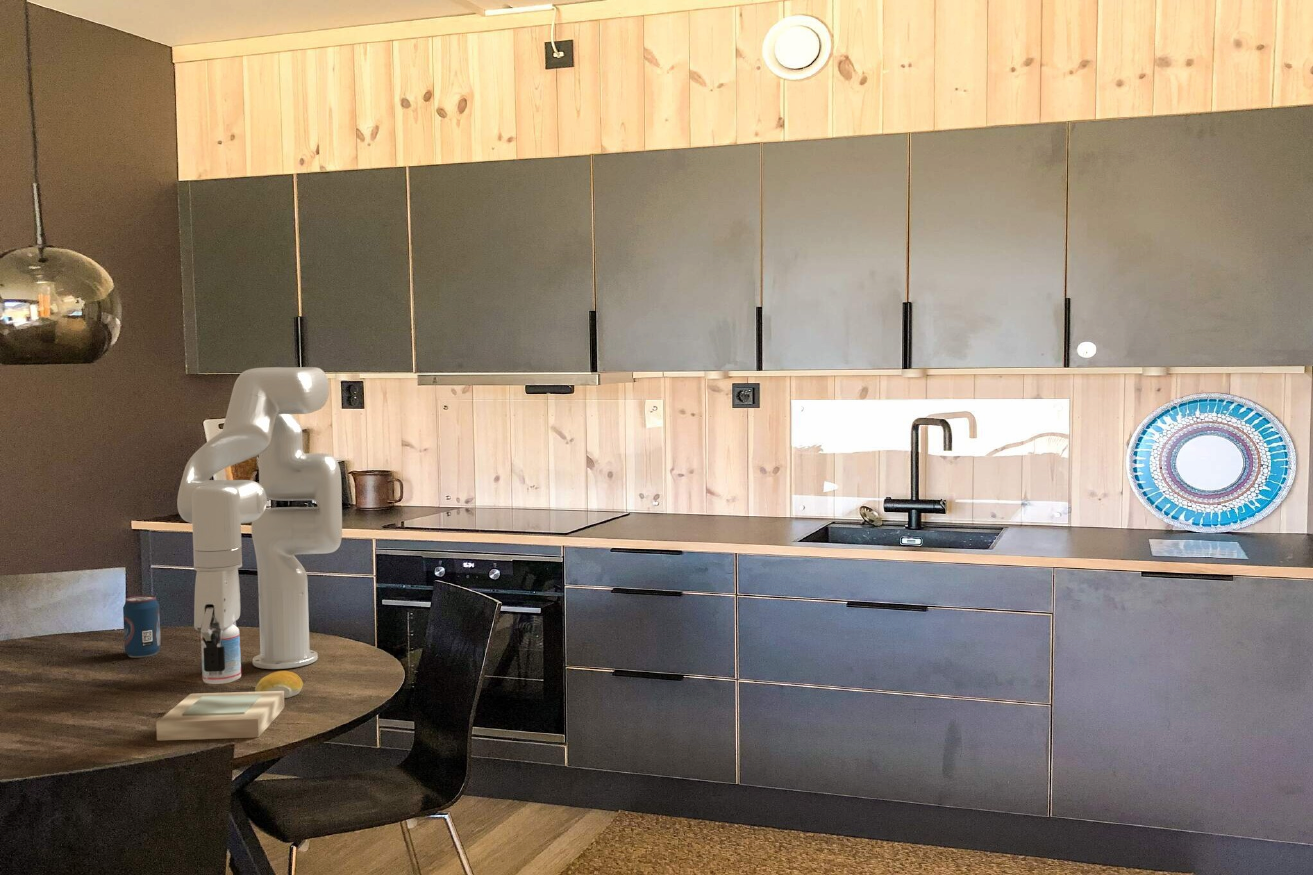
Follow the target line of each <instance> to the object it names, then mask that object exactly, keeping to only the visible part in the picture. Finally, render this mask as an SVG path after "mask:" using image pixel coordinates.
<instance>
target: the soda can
mask: <svg viewBox="0 0 1313 875" xmlns="http://www.w3.org/2000/svg"><path fill="white" fill-rule="evenodd" d="M122 611H123V614H122V615H123V618H122V619H123V636H124V637H123V640H124V643H123V645H124V646H123V647H124V652H125V653H126V655H127V656H128V657H129V658H137V659H139V658H148V657H152V656H156V655H157V654H158V652H159V651H160V650H161V648H162V646H161V642H162V641H161V639H162V638H161V621H160V620H161V618H160V617H161V616H160V603H159V602H158V601H157V597H156V595H149V594H148V595H147V594H146V595H135V596H130V597H127V598H126V599H125V603H124V605H123V607H122Z"/></svg>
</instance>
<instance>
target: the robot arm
mask: <svg viewBox="0 0 1313 875" xmlns="http://www.w3.org/2000/svg"><path fill="white" fill-rule="evenodd" d="M329 395H330V384H329V379H328V376H327V375H326V373H325V371H324V370H323V369H321V368H320V367H315V366H314V367H312V366H311V367H309V366H305V367H304V366H303V367H301V366H300V367H299V366H298V367H297V366H295V367H294V366H293V367H289V366H288V367H285V366H284V367H283V366H282V367H281V366H277V367H274V366H273V367H270V366H269V367H267V366H266V367H255V368H250V369H247V370H244V371H242V372H241V373H240V374H239V375H238V377H237V379H236V380H235V382H234V384H233V388H232V391H231V396H230V401H229V404H228V407H227V412H226V415H225V419H224V423H223V427H222V430H221V431H220V432H219V433H217V434H215V436H213V437H211V439H209V440H208V441H207V442H205V443H203V445H202V446H201V447H199V449H197V451H195V452H194V453H193V454H192V456H190V458H189V459H188V461H187V463H186V464H185V468H184V470H183V474H182V478H181V480H180V485H179V487H178V488H179V489H178V493H177V499H176V501H177V504H176V505H177V506H176V507H177V511H178V514H179V515H180V518H181V519H182V520H184V521H185V522H187V523H190V524H191V525H192V546H193V547H192V548H193V550H192V551H193V570H194V571H196V575H195V584H194V605H193V606H194V610H193V612H194V613H193V614H194V615H193V619H194V620H193V621H194V622H193V623H194V624H193V626H194V629H195V630H196V631H200V635H201V634H202V636H203V637H202V639H203V648H204V670H205V671H206V672H210V671H223V670H225V648H224V646H222V641H223V630H224V629H225V628H227V627H228V626H229V625H231V624H232V623H231V622H232V621H231V620H232V617H233V615H234V618H235V620H234V622H233V625H235V626H236V627H237V624H238V620H239V618H240V616H241V592H240V591H241V590H240V588H241V587H240V577H239V576H240V575H239V569H240V568H242V567H243V554H242V552H243V551H242V550H243V549H242V548H243V547H242V524H248V523H250V524H251V528H250V529H251V537H252V543H253V546H254V548H253V549H254V552H255V557H256V567H257V584H258V585H257V586H258V613H259V614H258V620H259V645H260V646H259V647H260V648H259V649H260V653H259V654H257V655H255V656H254V657H253V658H252V665H253V666H254V667H256V668H259V669H264V670H265V669H266V670H286V669H293V668H299V667H304V666H308V665H310V664H313V663H315V662H316V661H317V660H319V659H318V658H319V657H318V656H319V655H318V652H317V651H315V650H312V649H310V627H309V626H310V624H309V622H310V620H309V619H310V618H309V616H310V615H309V591H308V590H309V589H308V587H309V586H308V575H307V571H306V569H305V567H304V566H303V565H302V563H301V562H300V561H299V560H298V559H297V557H296V556H297V555H316V554H317V555H319V554H322V555H323V554H330V553H335V552H336V551H337V550H338V549H339V548H340V546H341V543H342V537H343V507H342V506H343V505H342V503H343V501H342V500H343V498H342V496H343V495H342V494H343V493H342V492H343V490H342V473H341V468H340V464H339V462H338V459H336V457H334V456H333V455H331V454H329V453H325V452H324V453H319V452H318V453H317V452H316V453H312V452H311V453H305V452H304V448H303V446H304V444H303V429H302V426H301V424H300V423H299V421H298V419H297V418H296V417H295V416H294V415H307V414H312V413H315V412H317V411H319V410H321V409H323V408H324V407H325V405H326V404H327V402H328V399H329ZM257 456H258V480H259V481H257V482H256V481H254V480H250V479H213V480H212V479H211V478H212V477H213V476H214V475H216V474H218V473H219V472H221V471H222V470H226V469H227V468H230V467H232V466H234V465H236V464H240V463H243V462H245V461H247V460H248V461H249V460H250V459H252V458H254V457H257ZM210 479H211V480H210ZM268 500H272V501H285V502H286V501H314V502H316V505H317V506H303V507H301V506H290V507H289V506H286V507H285V506H284V507H271V508H270V507H269V508H267V505H268V503H267V502H268ZM212 625H219V626H218V627H219V628H212ZM213 633H218V636H217V637H216V635H215V634H213Z"/></svg>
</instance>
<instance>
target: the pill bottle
mask: <svg viewBox="0 0 1313 875" xmlns="http://www.w3.org/2000/svg"><path fill="white" fill-rule="evenodd" d="M234 620H235V618H234V615H233V617H232V620H231V621H232V622H231V623H232V624H231V625H229V626H228V627H227V628H225V629H224V630H223V641H222V646H224V648H225V670H223V671H210V672H206V671H205V670H204V648H203V639H202V637H203V636H202V634H201V633H200V648H201V671H202V672H201V673H202V674H201V676H202V681H203V682H204V683H205V684H208V685H209V684H210V685H220V684H221V685H222V684H223V685H224V684H227V683H228V684H229V683H232V682H235V681H238V680H239V679H241V677H242V664H241V663H242V660H241V641H240V640H241V638H240V637H241V636H240V629H239V627H237V625H236V626H235V625H233V622H234ZM218 626H219V625H212V628H219V627H218ZM213 634H215V635H216V637H217V636H218V633H213Z"/></svg>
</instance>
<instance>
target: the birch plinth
mask: <svg viewBox="0 0 1313 875" xmlns="http://www.w3.org/2000/svg"><path fill="white" fill-rule="evenodd" d="M284 709H285V698H284V691H264V692H255V691H239V692H237V691H236V692H231V691H230V692H208V693H207V692H203V693H190V694H188V695H187V696H186V697H185V698H184V699H183V700H181V701H180V702H179V703H177V705H175V706H173V707H172V709H170V710H169V711H168V712H166V714H164V715H163V716H162V717H161V718H159V719H158V720H157V721H156V722H155V724H156V725H155V726H156V728H155V729H156V741H180V740H181V741H182V740H183V741H186V740H189V741H190V740H208V739H209V740H212V739H213V740H214V739H215V740H216V739H217V740H218V739H244V738H249V739H250V738H259V737H260V736H261V735H262V734H263V733H264V732H265V730H267V728H269V726H270V725H271V724H272V723H273V722H274V720H275V719H276V718H277V717H278V716H279V715H280V714H281V712H282V711H283V710H284Z"/></svg>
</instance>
